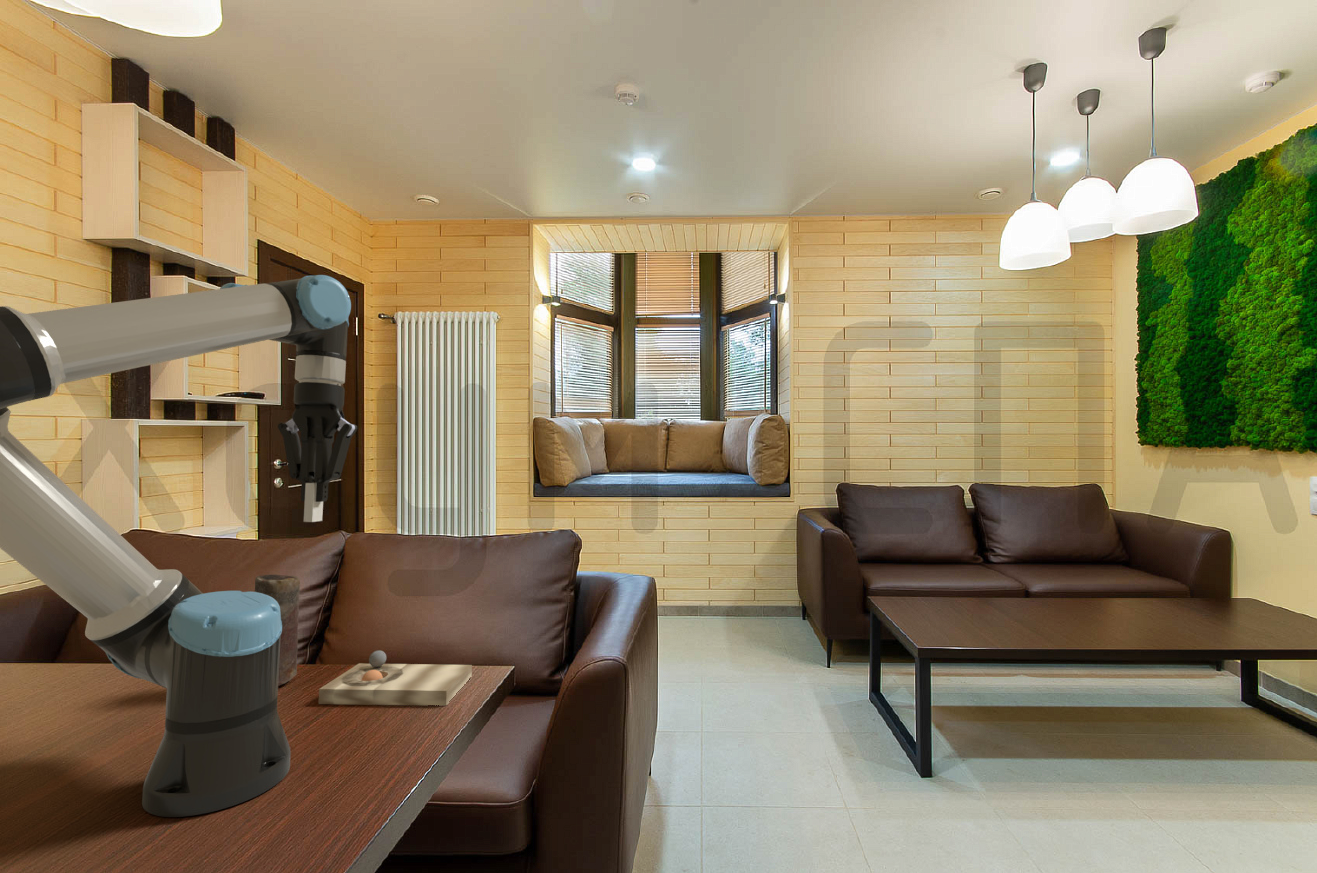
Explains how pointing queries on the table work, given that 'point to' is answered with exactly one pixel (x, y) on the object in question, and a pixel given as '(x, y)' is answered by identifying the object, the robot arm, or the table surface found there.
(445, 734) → the table surface
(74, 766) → the table surface
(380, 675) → the orange ball
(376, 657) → the grey ball
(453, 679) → the board
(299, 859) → the table surface
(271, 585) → the candle
